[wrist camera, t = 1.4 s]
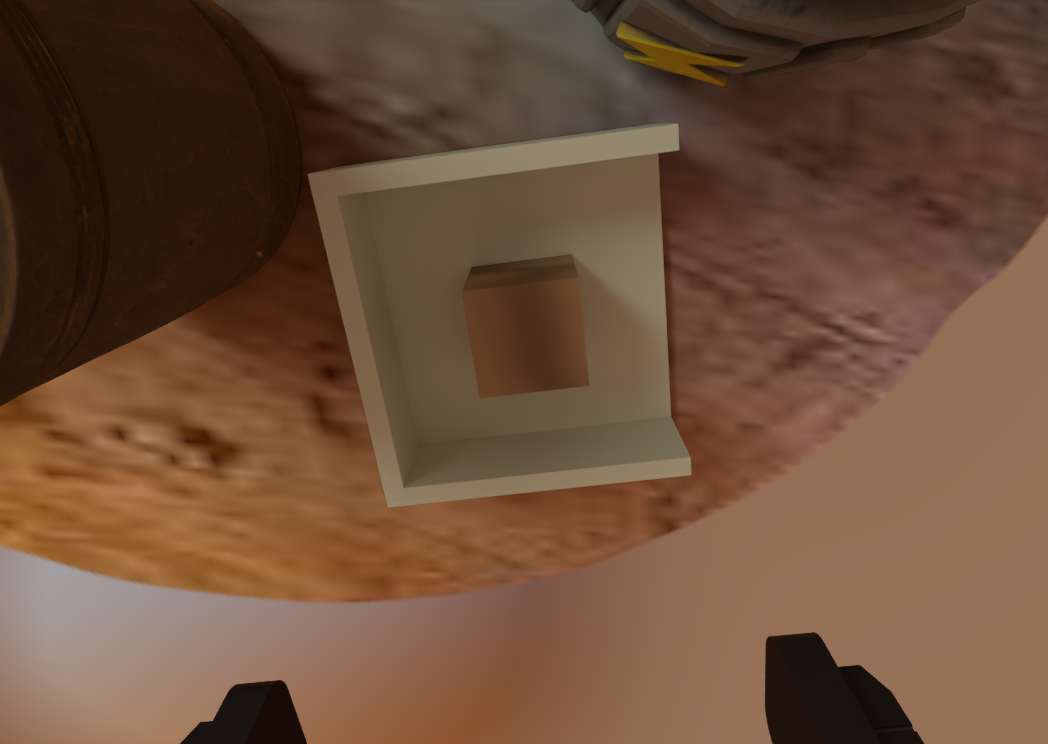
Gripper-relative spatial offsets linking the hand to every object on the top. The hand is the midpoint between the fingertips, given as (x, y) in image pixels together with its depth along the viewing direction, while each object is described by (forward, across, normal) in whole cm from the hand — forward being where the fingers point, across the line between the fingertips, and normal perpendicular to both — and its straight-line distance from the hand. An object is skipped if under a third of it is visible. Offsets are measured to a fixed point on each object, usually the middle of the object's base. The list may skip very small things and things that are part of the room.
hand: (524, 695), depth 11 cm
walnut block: (+24, 0, 0) cm, 24 cm away
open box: (+24, 0, 0) cm, 24 cm away
